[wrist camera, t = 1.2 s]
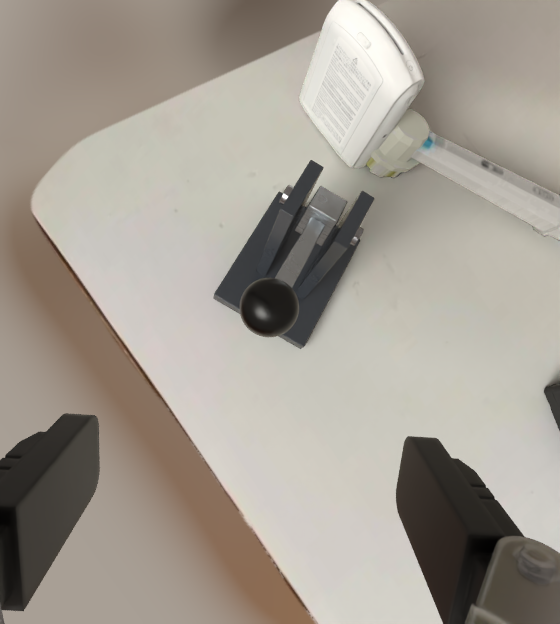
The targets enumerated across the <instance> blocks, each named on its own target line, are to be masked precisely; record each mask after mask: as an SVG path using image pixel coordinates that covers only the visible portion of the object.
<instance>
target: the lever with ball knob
mask: <svg viewBox="0 0 560 624" xmlns="http://www.w3.org/2000/svg"><path fill="white" fill-rule="evenodd" d="M346 204H347V201H346V200H344V199H343V198H341V197H339V196H338V195H336V194H334V193H333V192H331V191H329V190H327V189H326V188H324V187H322V186H320V187H319V189H318V191H317V192H316V194H315V195H314V197H313V198H312V200H311V202H310V203H309V205H308V207H307V208H306V210H305V212H304V214H303V216H302V218H301V219H300V221H299V223H298V225H297V227H296V228H295V231H297V232H298V233H300V234H301V235H300V237H299V238H298V240H297V242H296V243H295V245H294V247H293V248H292V250H291V252H290V253H289V255H288V257H287V259H286V260H285V262H284V264H283V265H282V267H281V269H280V270H279V272H278V274H277V275H276V277H275V278H262V279H259V280H257V281H255V282H253V283H252V284H250V285H249V286H248V287H247V288H246V290H245V291H244V293H243V295H242V297H241V300H240V315H241V318H242V320H243V322H244V324H245V325H246V326H247V328H248V329H249V330H251V331H252V332H253V333H255V334H257V335H259V336H263V337H275V336H279V335H282V334H284V333H285V332H287V331H288V330H289V329H290V328H291V327H292V326H293V325H294V323H295V322H296V320H297V317H298V313H299V301H298V298H297V295H296V293H295V292H294V290H293V289H292V287H293V285H294V283H295V281H296V279H297V278H298V276H299V274H300V272H301V270H302V268H303V266H304V264H305V263H306V261H307V259H308V257H309V255H310V253H311V251H312V250H313V248H314V246H315V244H316V243H317V244H319V245H320V246H322V245H323V244H324V242H325V241H326V239H327V238H328V236H329V234H330V233H331V231H332V230H333V228H334V227H335V225H336V223H337V222H338V220H339V218H340V216H341V214H342V212H343V210H344V208H345V206H346Z"/></svg>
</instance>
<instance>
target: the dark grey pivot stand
mask: <svg viewBox="0 0 560 624" xmlns="http://www.w3.org/2000/svg"><path fill="white" fill-rule="evenodd" d="M322 170H323V167H322V166H321V165H319V164H317V163H316V162H314V161H312V160H310V162H309V164H308V165H307V167H306V168H305V170H304V172H303V173H302V175H301V177H300V178H299V180H298V181H297V183H296V185H295V186H294V187H292V186H291V185H288V186H287V188H286V189H285V191H284V193H281V192H278V194H277V195H276V197H275V199H274V200H273V202H272V203H271V205H270V206H269V208H268V210H267V211H266V213H265V214H264V216H263V218H262V219H261V221H260V222H259V224H258V225H257V227H256V229H255V230H254V232H253V233H252V235H251V237H250V238H249V240H248V241H247V243H246V244H245V246H244V248H243V249H242V251H241V252H240V254H239V256H238V257H237V259H236V260H235V262H234V263H233V265H232V267H231V268H230V270H229V271H228V273H227V275H226V276H225V278H224V279H223V281H222V282H221V284H220V286H219V287H218V289H217V290H216V292H215V294H214V299H215V300H217V301H219V302H220V303H222V304H224V305H226V306H227V307H229V308H231V309H233V310H234V311H236V312H238V313H239V314H240V300H241V297H242V295H243V293H244V291H245V290H246V288H247V287H248V286H249V285H250V284H252V283H253V282H255V281H257V280H259V279H262V278H275V277H276V275H277V274H278V272H279V270H280V269H281V267H282V265H283V264H284V262H285V260H286V259H287V257H288V255H289V253H290V252H291V250H292V248H293V247H294V245H295V243H296V242H297V240H298V238H299V237H300V235H301V234H300V233H298V232H297V231H295V228H296V227H297V225H298V223H299V221H300V219H301V218H302V216H303V214H304V212H305V210H306V207H305V204H306V202H307V200H308V198H309V196H310V194H311V192H312V190H313V188H314V186H315V184H316V182H317V180H318V178H319V176H320V174H321V172H322ZM373 200H374V197H372V196H370V195H369V194H367V193H365V192H364V191H361V193H360V194H359V196H358V197H357V198H356V200H355V201H354V203H353V204H352V205H351V207H350V208H349V210H348V211H347V212H346V214H345V215H344V217H343V218H342V219H341V221H340V222H339V224H338V225H335V227H334V228H333V230H332V231H331V233H330V234H329V236H328V238H327V239H326V241H325V242H324V244H323V245H322V246H320V245H319V244H317V243H316V244H315V246H314V248H313V250H312V251H311V253H310V255H309V257H308V259H307V261H306V263H305V264H304V266H303V268H302V270H301V272H300V274H299V276H298V278H297V279H296V281H295V283H294V285H293V287H292V289H293V290H294V292H295V293H296V295H297V298H298V301H299V313H298V317H297V320H296V322H295V323H294V325H293V326H292V327H291V328H290V329H289V330H288V331H287V332H285V333H284V334H282V335H279V337H281V338H283V339H284V340H286V341H288V342H289V343H291V344H293V345H295V346H296V347H298V348H300V349H301V348H303V347H304V346H305V344H306V342H307V340H308V338H309V337H310V335H311V333H312V331H313V329H314V327H315V325H316V323H317V321H318V320H319V318H320V316H321V314H322V312H323V310H324V308H325V306H326V304H327V303H328V301H329V299H330V297H331V295H332V293H333V291H334V289H335V287H336V286H337V284H338V282H339V280H340V278H341V276H342V274H343V272H344V270H345V268H346V267H347V265H348V263H349V261H350V259H351V257H352V255H353V253H354V251H355V250H356V248H357V246H358V244H359V242H360V239H359V238H360V236H361V234H362V232H363V228H361V227H360V225H361V223H362V221H363V219H364V217H365V215H366V213H367V212H368V210H369V208H370V206H371V204H372V202H373Z"/></svg>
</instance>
